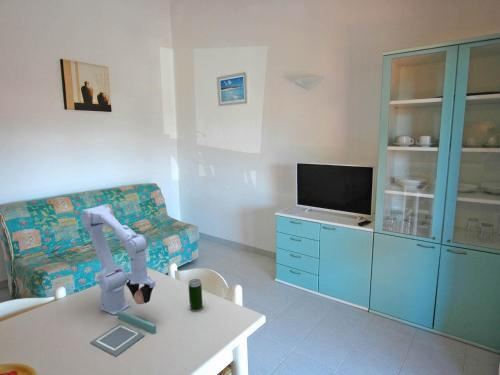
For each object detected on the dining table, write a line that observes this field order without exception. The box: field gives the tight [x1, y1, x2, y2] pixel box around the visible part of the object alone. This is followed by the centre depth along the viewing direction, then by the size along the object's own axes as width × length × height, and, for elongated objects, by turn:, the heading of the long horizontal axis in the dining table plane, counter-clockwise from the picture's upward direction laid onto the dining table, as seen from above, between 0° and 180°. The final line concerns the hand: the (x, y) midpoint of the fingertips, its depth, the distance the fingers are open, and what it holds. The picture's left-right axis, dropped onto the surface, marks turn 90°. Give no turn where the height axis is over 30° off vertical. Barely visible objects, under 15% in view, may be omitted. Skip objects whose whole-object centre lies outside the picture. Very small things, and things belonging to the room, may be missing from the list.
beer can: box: [188, 278, 203, 312], centre depth 127 cm, size 5×5×12 cm
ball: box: [133, 289, 145, 305], centre depth 120 cm, size 6×6×6 cm
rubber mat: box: [89, 323, 146, 358], centre depth 110 cm, size 14×12×1 cm
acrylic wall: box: [116, 310, 157, 335], centre depth 118 cm, size 20×1×3 cm, turn 60°
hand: (141, 299), depth 120 cm, fingers closed on ball, 5 cm apart
